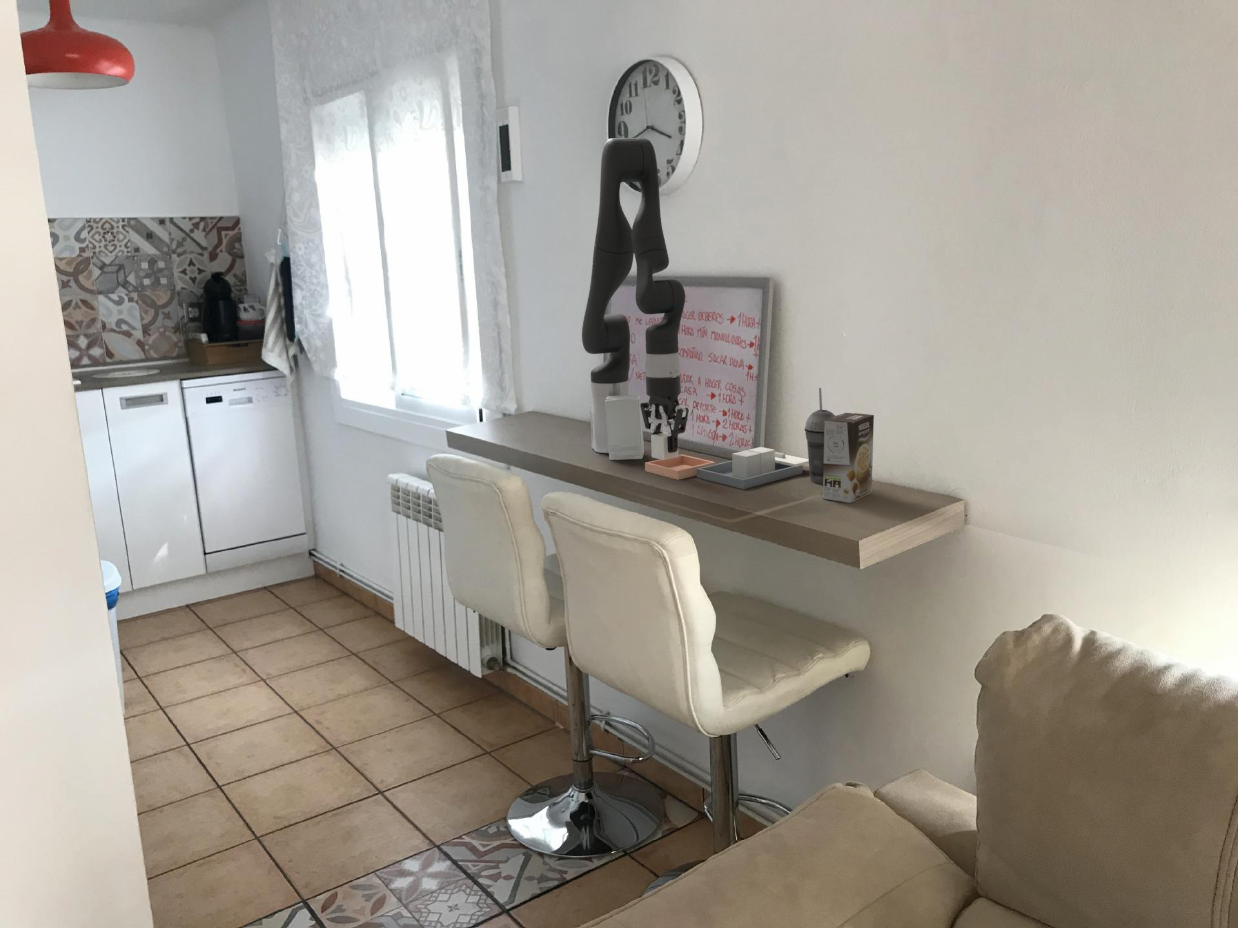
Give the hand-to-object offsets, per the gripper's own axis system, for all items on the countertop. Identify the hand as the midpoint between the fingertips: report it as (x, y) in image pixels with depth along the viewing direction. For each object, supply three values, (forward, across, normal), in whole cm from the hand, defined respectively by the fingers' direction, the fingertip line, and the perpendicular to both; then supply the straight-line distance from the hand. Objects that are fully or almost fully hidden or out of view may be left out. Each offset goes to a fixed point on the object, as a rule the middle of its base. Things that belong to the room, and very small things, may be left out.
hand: (665, 450), depth 218 cm
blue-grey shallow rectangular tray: (+5, +16, +11) cm, 20 cm away
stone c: (+5, +16, +14) cm, 21 cm away
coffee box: (+6, +40, +13) cm, 42 cm away
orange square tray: (+5, +2, +2) cm, 6 cm away
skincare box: (+5, -19, +4) cm, 20 cm away
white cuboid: (+5, +16, +9) cm, 19 cm away
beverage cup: (+6, +30, +17) cm, 35 cm away
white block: (+2, 0, 0) cm, 2 cm away
